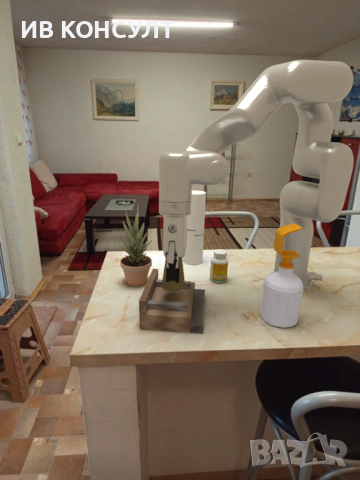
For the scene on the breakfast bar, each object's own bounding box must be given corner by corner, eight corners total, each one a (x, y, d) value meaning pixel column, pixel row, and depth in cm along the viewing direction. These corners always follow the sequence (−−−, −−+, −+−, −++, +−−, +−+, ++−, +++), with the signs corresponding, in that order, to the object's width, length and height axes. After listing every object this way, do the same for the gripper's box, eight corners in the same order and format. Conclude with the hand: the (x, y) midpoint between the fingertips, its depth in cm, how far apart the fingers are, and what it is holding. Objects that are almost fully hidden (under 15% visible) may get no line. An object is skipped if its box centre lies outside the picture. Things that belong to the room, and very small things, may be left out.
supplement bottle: (206, 277, 102) (208, 249, 99) (220, 274, 104) (222, 247, 101) (215, 284, 97) (217, 255, 94) (230, 281, 99) (232, 253, 96)
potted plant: (128, 292, 92) (125, 208, 84) (116, 279, 99) (112, 202, 91) (158, 284, 97) (158, 205, 89) (145, 272, 104) (143, 198, 96)
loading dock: (204, 295, 90) (206, 271, 88) (203, 333, 74) (204, 305, 71) (153, 292, 92) (152, 268, 89) (139, 328, 75) (138, 300, 72)
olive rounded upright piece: (186, 281, 83) (187, 241, 79) (184, 292, 77) (185, 250, 74) (163, 279, 83) (163, 240, 80) (159, 290, 78) (159, 248, 74)
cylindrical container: (184, 256, 118) (185, 190, 110) (203, 258, 117) (206, 190, 109) (181, 264, 112) (183, 193, 103) (201, 265, 111) (205, 194, 102)
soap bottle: (304, 327, 77) (321, 231, 69) (267, 329, 76) (280, 231, 68) (288, 308, 85) (302, 220, 77) (255, 309, 84) (265, 220, 76)
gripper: (188, 216, 65) (185, 295, 71) (193, 200, 81) (190, 265, 87) (152, 215, 66) (153, 293, 72) (164, 199, 82) (163, 264, 88)
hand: (173, 277), depth 80 cm, fingers closed on olive rounded upright piece, 4 cm apart
